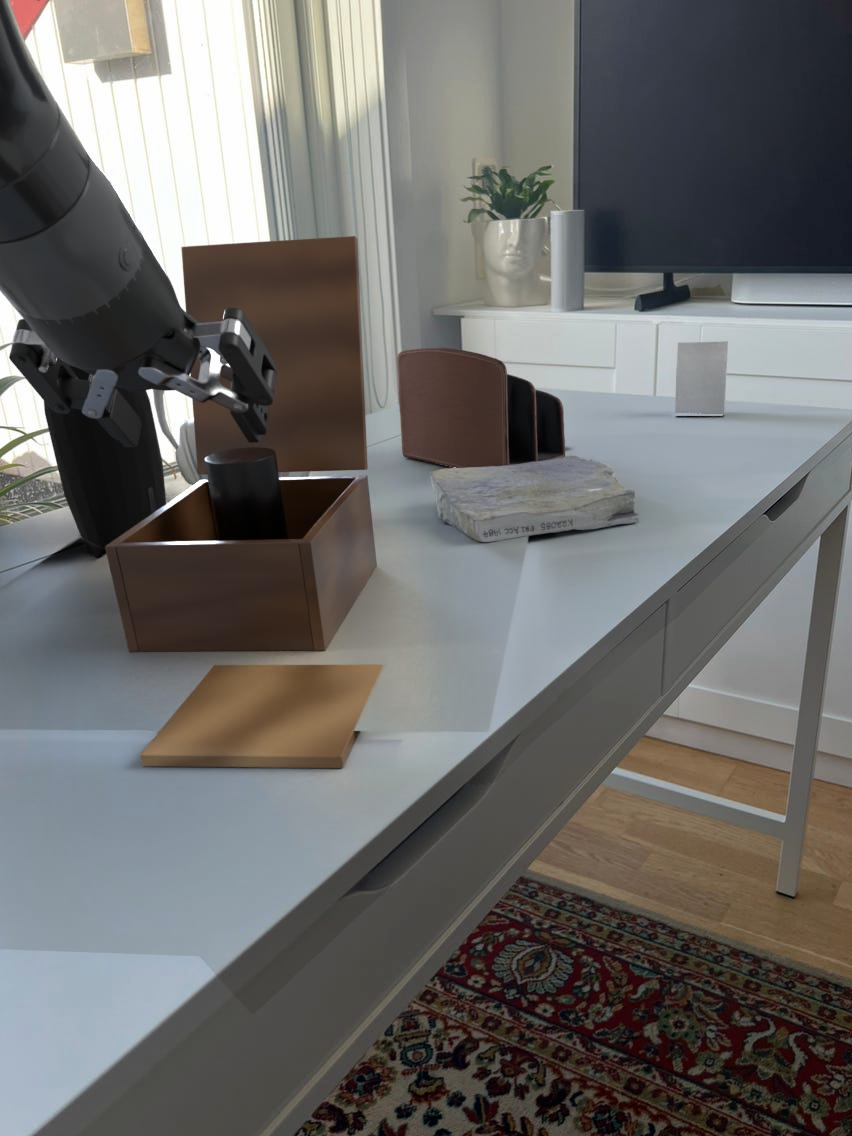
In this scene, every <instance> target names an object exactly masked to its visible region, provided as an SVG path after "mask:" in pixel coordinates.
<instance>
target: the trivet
mask: <svg viewBox="0 0 852 1136" xmlns="http://www.w3.org/2000/svg"><path fill="white" fill-rule="evenodd" d="M384 666H385V664H381V663H380V664H215V665H213V666H212V667H211V669H210V670H209V671H208V672H207V674H206V675H205V676H204V677H203V679H201V681H199V683H198V684H197V685H196V687H195V688H194V689H193V691H191V692H190V694H189V695H188V696H187V698H186V699H185V700H184V702H182V704H181V705H180V706H179V707H178V709H177V710H176V711H174V713H173V715H171V717H170V718H169V719H168V720H167V722H165V724H164V725H163V727H162V728H161V729H160V730H159V731H158V732H157V734H156V735H155V736H154V737H153V739H152V740H151V741H150V742H149V743H148V744H147V746H146V747H145V748H144V750H142V752H141V753H140V754H139V756H140V763H141V766H142V767H170V768H171V767H177V768H178V767H180V768H181V767H183V768H185V767H187V768H188V767H189V768H191V767H192V768H278V769H279V768H281V769H282V768H287V769H289V768H290V769H293V768H294V769H343V768H344V766H345V765H346V763H347V760H348V758H349V756H350V754H351V751H352V749H353V747H354V744H355V743H356V740H357V738H358V736H359V733H360V730H355V729H356V727H357V725H358V723H359V720H360V718H361V716H362V714H363V712H364V710H365V707H366V705H367V703H368V701H369V699H370V697H371V694H372V692H373V691H374V688H375V686H376V684H377V682H378V680H379V677H380V675H381V673H382V670H383V668H384Z"/></svg>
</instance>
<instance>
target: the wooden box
mask: <svg viewBox="0 0 852 1136" xmlns="http://www.w3.org/2000/svg"><path fill="white" fill-rule="evenodd" d="M279 479H280V486H281V492H282V499H283V506H284V513H285V520H286V527H287V534H288V539H279V540H231V541H219V539H218V533H217V528H216V522H215V517H214V511H213V505H212V500H211V494H210V488H209V483H208V480H200V481H199V482H197V483H196V484H194V485H191V486H190V487H188V488H187V489H186V490H184V491H183V492H181V493H180V494H178V495H177V496H176V497H174V498H172V499H171V500H170V501H168V502H166V505H164V506H163V507H161V508H160V509H158V510H157V511H155V512H154V513H153V514H151V515H150V516H148V517H147V518H145V519H144V520H142V521H141V522H140V523H138V524H137V525H135V526H134V527H132V528H131V529H129V530H128V531H127V532H125V533H124V534H122V535H121V536H119V537H118V538H117V539H115V540H114V541H112V542H111V543H109V544H108V545H106V546H105V549H106V551H105V553H106V559H107V562H108V566H109V571H110V575H111V579H112V580H111V581H112V585H113V587H114V593H115V596H116V601H117V606H118V610H119V615H120V619H121V623H122V629H123V631H124V632H123V633H124V636H125V641H126V646H127V650H128V652H129V653H256V652H257V653H260V652H263V653H264V652H265V653H267V652H274V653H275V652H279V653H280V652H281V653H282V652H327V651H326V650H327V649H328V648H329V646H330V644H331V643H332V641H333V639H334V638H335V636H336V634H337V633H338V631H339V629H340V628H341V626H342V624H343V623H344V621H345V619H346V618H347V616H348V614H349V613H350V612H351V610H352V609H353V607H354V605H355V603H356V602H357V600H358V598H359V596H360V595H361V593H362V592H363V590H364V588H365V587H366V585H367V583H368V582H369V580H370V579H371V577H372V575H373V573H374V572H375V570H376V568H377V566H378V563H377V562H378V561H377V552H376V542H375V536H374V535H375V533H374V525H373V516H372V506H371V498H370V497H371V496H370V489H369V488H370V487H369V478H368V475H367V474H363V475H362V474H361V475H360V474H359V475H332V476H331V475H329V476H326V475H325V476H309V477H291V478H279Z"/></svg>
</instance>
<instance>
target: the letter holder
mask: <svg viewBox="0 0 852 1136" xmlns="http://www.w3.org/2000/svg"><path fill="white" fill-rule="evenodd" d="M396 361H397V365H396V366H397V381H398V404H399V405H398V407H399V417H400V418H399V419H400V436H401V438H400V439H401V452H402V456H403V458H406V457H409V458H408V459H412V458H414V459H413V460H416V461H421V460H423V461H422V462H426V461H427V462H426V463H430V462H433V463H432V464H434V463H437V464H436V465H439V464H442V465H441V466H443V465H447V466H451V467H456V468H467V467H486V466H506V465H514V464H522V463H528V462H538V461H544V460H551V459H557V458H561V457H566V439H565V438H566V437H565V420H564V418H565V417H564V415H565V414H564V405H563V403H562V400H560V398H558V397H557V396H555V395H553V394H551V393H549V392H546V391H542V390H539V389H536V388H535V386H534V384H533V383H532V382H531V381H529V380H527V379H525V378H522V377H519V376H516V375H512V374H509V373H508V370H507V367H506V365H505V363H504V362H503V361H502V360H500V359H498V358H496V357H493V356H489V355H486V354H482V353H478V352H475V351H468V350H465V349H458V348H453V347H452V348H451V347H421V348H411V349H406V350H402V351H400V352H399V353H398V354H397V358H396ZM447 466H446V467H447ZM451 467H450V468H451Z"/></svg>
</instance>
